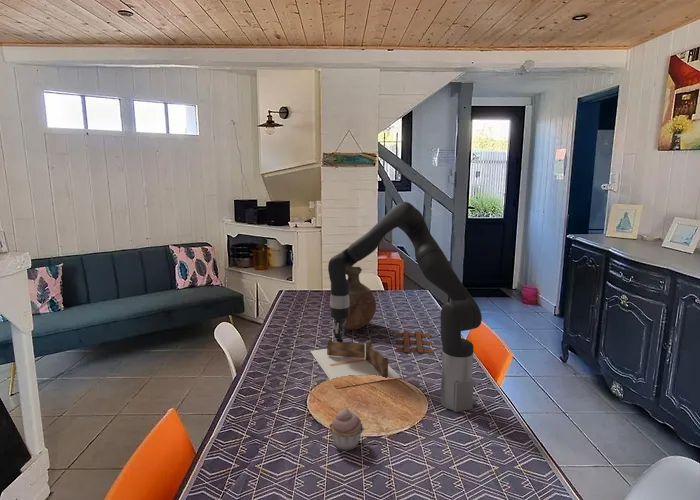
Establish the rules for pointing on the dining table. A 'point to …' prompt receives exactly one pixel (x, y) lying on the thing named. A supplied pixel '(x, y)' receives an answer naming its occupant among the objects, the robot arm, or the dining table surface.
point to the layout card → (347, 365)
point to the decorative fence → (413, 342)
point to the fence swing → (345, 349)
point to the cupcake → (346, 430)
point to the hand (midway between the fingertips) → (339, 346)
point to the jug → (359, 301)
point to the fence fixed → (376, 359)
